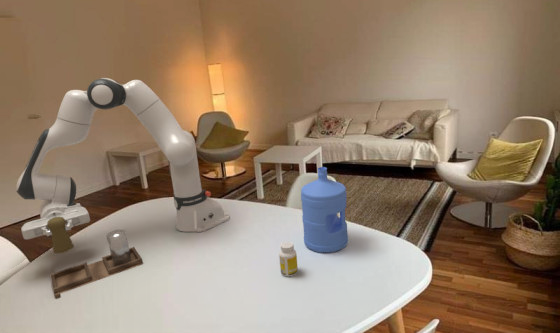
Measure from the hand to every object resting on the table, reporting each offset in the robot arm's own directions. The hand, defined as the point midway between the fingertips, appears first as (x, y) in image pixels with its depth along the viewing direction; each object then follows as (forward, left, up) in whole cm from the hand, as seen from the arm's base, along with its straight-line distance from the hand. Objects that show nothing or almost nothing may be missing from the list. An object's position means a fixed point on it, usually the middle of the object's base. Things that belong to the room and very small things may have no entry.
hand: (58, 231), depth 127 cm
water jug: (-79, +40, -17) cm, 90 cm away
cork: (0, -1, -7) cm, 7 cm away
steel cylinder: (-16, +5, -15) cm, 23 cm away
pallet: (-8, +5, -17) cm, 19 cm away
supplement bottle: (-58, +47, -17) cm, 76 cm away
